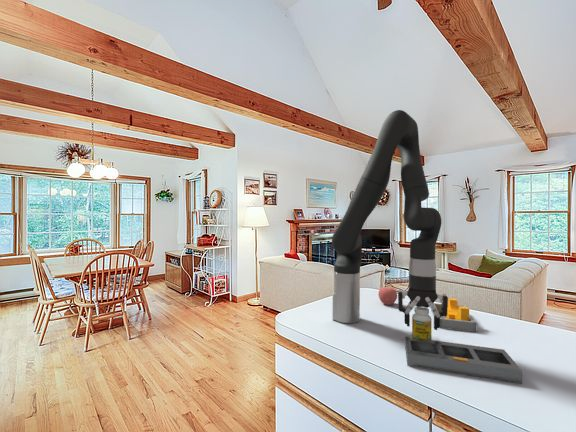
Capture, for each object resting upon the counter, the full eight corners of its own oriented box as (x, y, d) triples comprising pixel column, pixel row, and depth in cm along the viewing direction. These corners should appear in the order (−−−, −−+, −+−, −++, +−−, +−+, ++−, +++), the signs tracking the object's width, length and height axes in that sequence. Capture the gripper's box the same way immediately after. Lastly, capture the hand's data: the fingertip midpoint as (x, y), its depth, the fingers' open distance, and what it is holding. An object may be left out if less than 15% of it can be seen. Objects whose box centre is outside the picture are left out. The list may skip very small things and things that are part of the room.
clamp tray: (438, 327, 99) (438, 318, 99) (431, 310, 117) (431, 302, 117) (476, 332, 96) (476, 322, 96) (462, 313, 114) (462, 305, 113)
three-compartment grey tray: (407, 365, 74) (407, 352, 74) (405, 346, 84) (405, 335, 84) (522, 384, 66) (522, 369, 66) (504, 361, 77) (504, 348, 77)
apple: (375, 302, 128) (375, 283, 128) (390, 301, 129) (390, 283, 129) (384, 307, 120) (384, 288, 120) (400, 306, 122) (400, 287, 122)
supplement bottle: (429, 337, 91) (430, 306, 91) (432, 344, 86) (433, 312, 86) (411, 335, 93) (411, 304, 93) (412, 342, 88) (413, 310, 88)
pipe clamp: (442, 315, 112) (443, 298, 112) (455, 315, 112) (455, 298, 112) (455, 326, 100) (455, 308, 100) (469, 327, 100) (469, 308, 100)
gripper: (397, 273, 88) (396, 328, 88) (451, 277, 83) (450, 335, 84) (396, 269, 95) (396, 320, 95) (446, 272, 91) (445, 326, 91)
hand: (421, 327), depth 89 cm, fingers open, 7 cm apart
